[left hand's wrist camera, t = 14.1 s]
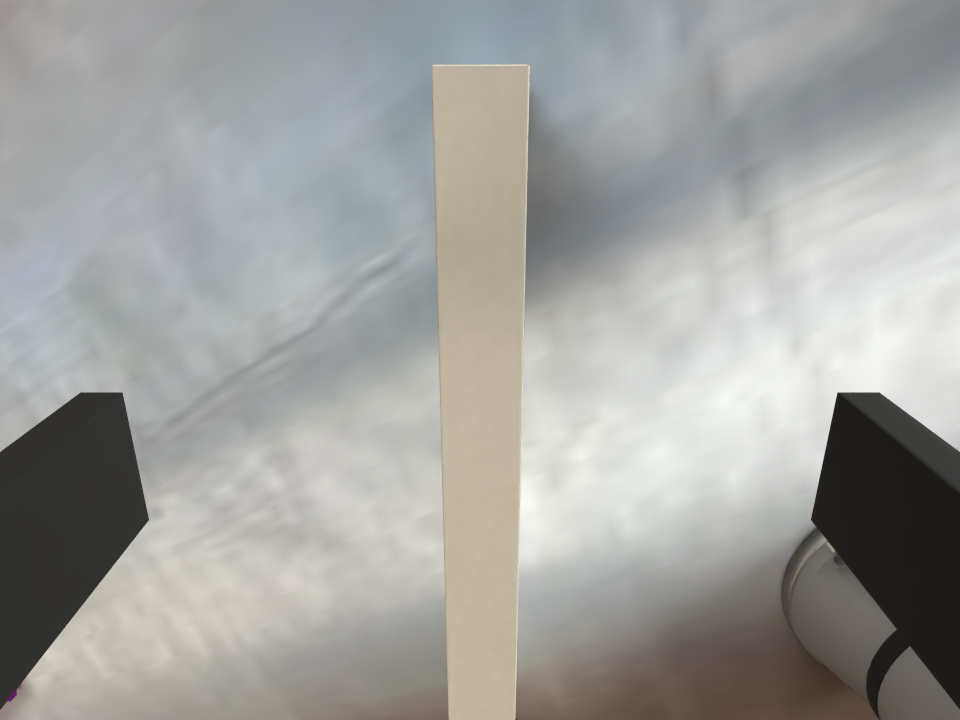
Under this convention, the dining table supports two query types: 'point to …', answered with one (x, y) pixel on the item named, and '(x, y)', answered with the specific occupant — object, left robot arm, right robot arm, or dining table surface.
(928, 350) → the dining table surface
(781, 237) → the dining table surface
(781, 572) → the dining table surface
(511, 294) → the bar
